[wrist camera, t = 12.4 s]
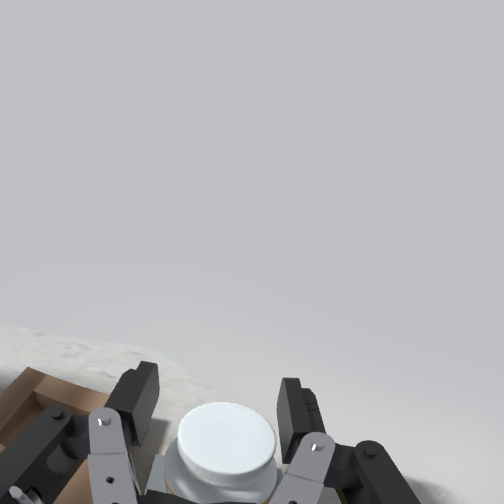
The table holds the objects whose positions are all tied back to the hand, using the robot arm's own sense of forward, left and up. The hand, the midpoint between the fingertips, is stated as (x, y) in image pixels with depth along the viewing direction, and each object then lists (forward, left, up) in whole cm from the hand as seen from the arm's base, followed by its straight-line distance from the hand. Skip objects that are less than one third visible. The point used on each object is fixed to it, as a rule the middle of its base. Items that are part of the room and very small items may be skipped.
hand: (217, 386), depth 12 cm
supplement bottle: (0, -3, -10) cm, 10 cm away
